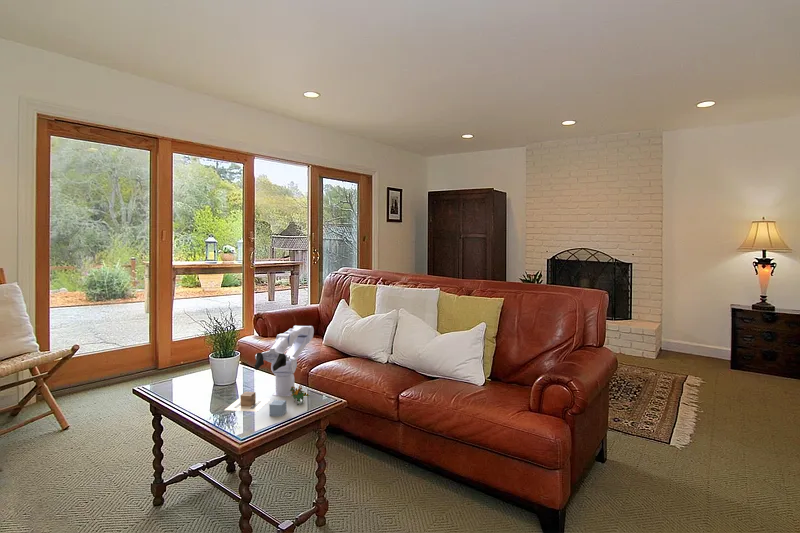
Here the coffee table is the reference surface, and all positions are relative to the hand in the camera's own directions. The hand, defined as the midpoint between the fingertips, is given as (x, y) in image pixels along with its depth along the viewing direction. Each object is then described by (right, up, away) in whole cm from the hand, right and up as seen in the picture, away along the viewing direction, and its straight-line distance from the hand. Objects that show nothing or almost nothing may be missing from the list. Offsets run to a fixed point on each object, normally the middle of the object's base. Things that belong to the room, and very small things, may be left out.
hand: (264, 368), depth 179 cm
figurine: (+12, -17, +9) cm, 23 cm away
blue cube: (+6, -18, -2) cm, 19 cm away
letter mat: (-9, -17, +7) cm, 21 cm away
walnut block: (-9, -17, +7) cm, 20 cm away
